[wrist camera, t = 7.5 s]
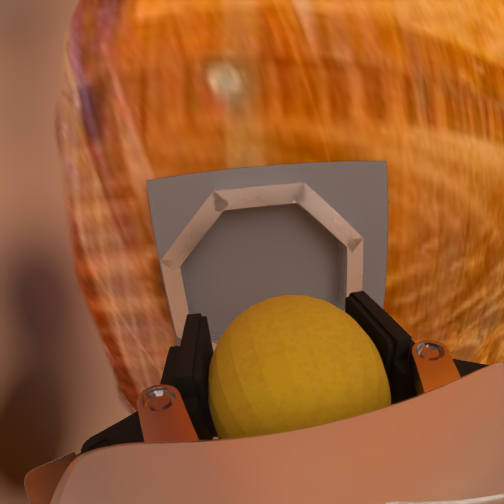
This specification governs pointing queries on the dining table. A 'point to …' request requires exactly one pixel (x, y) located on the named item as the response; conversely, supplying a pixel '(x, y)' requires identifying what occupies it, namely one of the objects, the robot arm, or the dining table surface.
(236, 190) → the ring
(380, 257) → the board
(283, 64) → the dining table surface
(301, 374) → the lemon
